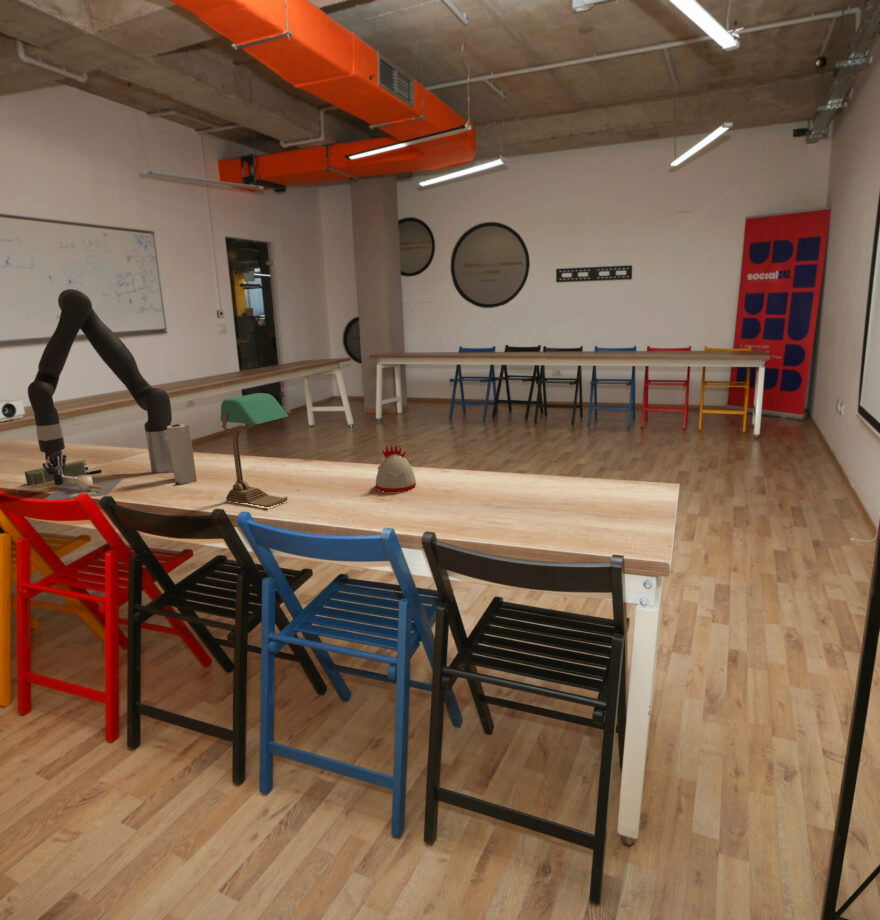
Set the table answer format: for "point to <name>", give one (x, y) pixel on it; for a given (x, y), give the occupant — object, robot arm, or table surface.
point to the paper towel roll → (181, 453)
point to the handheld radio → (70, 470)
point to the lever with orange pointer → (81, 482)
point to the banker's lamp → (238, 411)
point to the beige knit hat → (395, 472)
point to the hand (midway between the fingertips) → (59, 484)
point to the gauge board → (73, 490)
